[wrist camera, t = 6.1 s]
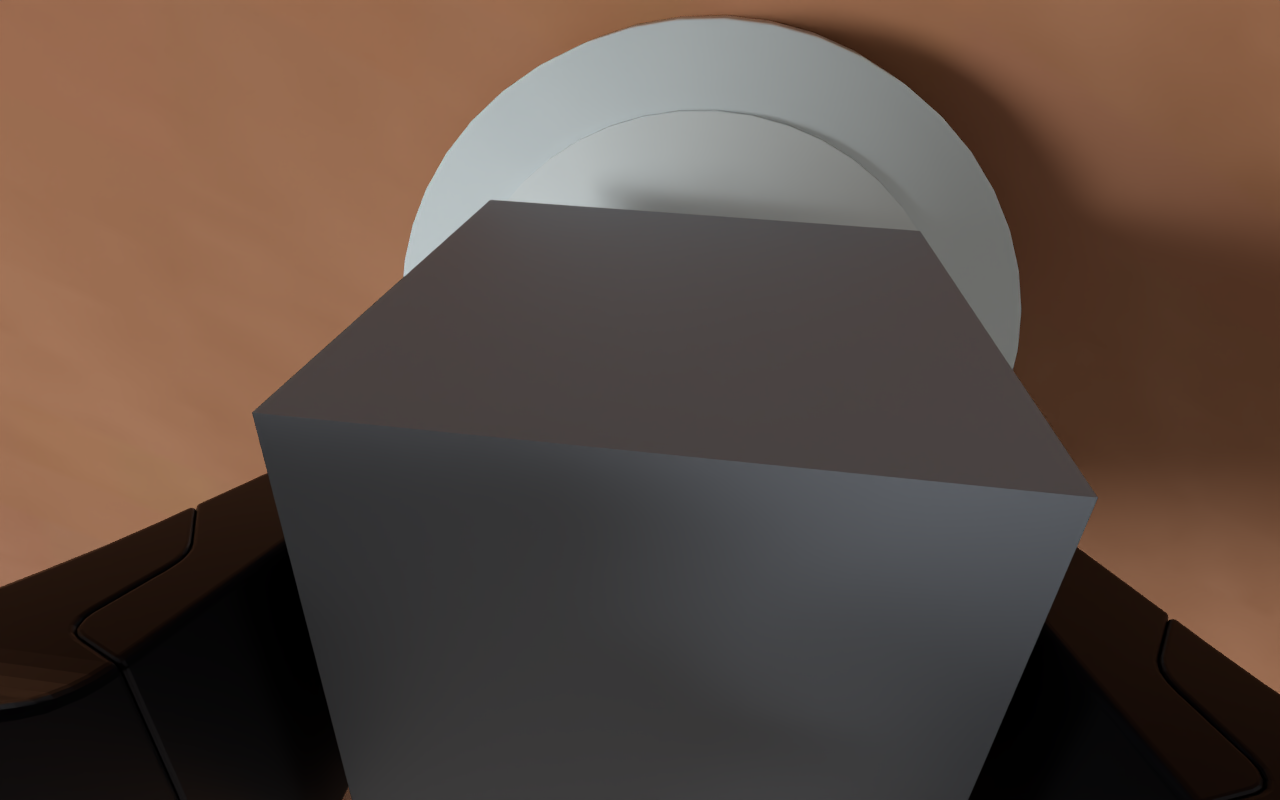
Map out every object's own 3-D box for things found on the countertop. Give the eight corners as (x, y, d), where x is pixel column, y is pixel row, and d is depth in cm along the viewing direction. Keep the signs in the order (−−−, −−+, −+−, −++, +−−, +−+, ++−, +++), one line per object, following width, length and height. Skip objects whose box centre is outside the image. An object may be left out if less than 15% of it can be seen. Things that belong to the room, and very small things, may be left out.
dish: (921, 566, 14) (937, 621, 13) (455, 514, 15) (429, 561, 14) (1080, 32, 10) (1128, 40, 8) (398, -1, 10) (353, 3, 9)
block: (843, 563, 11) (904, 944, 7) (510, 527, 11) (367, 862, 7) (919, 230, 8) (1099, 498, 4) (490, 199, 9) (251, 412, 5)
